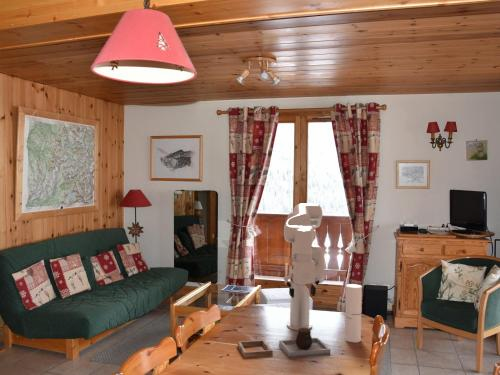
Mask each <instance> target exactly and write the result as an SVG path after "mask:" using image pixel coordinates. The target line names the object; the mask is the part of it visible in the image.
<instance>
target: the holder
mask: <svg viewBox="0 0 500 375" xmlns="http://www.w3.org/2000/svg"><path fill="white" fill-rule="evenodd" d="M255 346H262V347H263V348H264V349H263V350H253V351H251V350H250V351H247V350H246V349H245V348H244V347H255ZM237 347H238V350H239V351H240V354H242V356H243V358H244V359H245V358H257V357H267V356H268V357H269V356H273V349H272V348H271V347H270V346H269V344H268V343H267V342H266V340H265V339H258V340H257V339H256V340H243V341H241V340H240V341H237Z"/></svg>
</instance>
